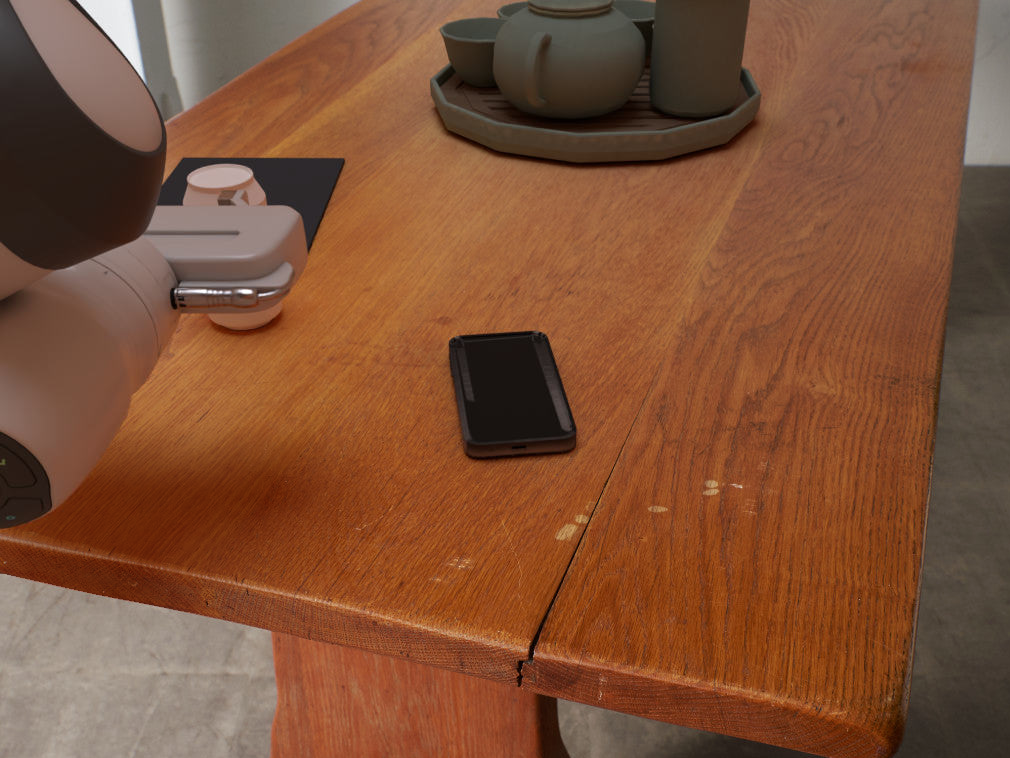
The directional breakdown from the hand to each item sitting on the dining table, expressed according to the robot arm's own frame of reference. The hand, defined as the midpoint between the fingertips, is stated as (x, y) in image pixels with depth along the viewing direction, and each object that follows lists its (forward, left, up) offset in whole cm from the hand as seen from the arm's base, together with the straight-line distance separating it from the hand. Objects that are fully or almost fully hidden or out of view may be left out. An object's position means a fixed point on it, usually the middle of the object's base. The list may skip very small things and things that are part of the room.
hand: (164, 201), depth 64 cm
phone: (+22, +1, -15) cm, 27 cm away
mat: (-6, +37, -15) cm, 40 cm away
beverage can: (0, +13, -15) cm, 20 cm away
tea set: (+31, +67, -15) cm, 75 cm away
